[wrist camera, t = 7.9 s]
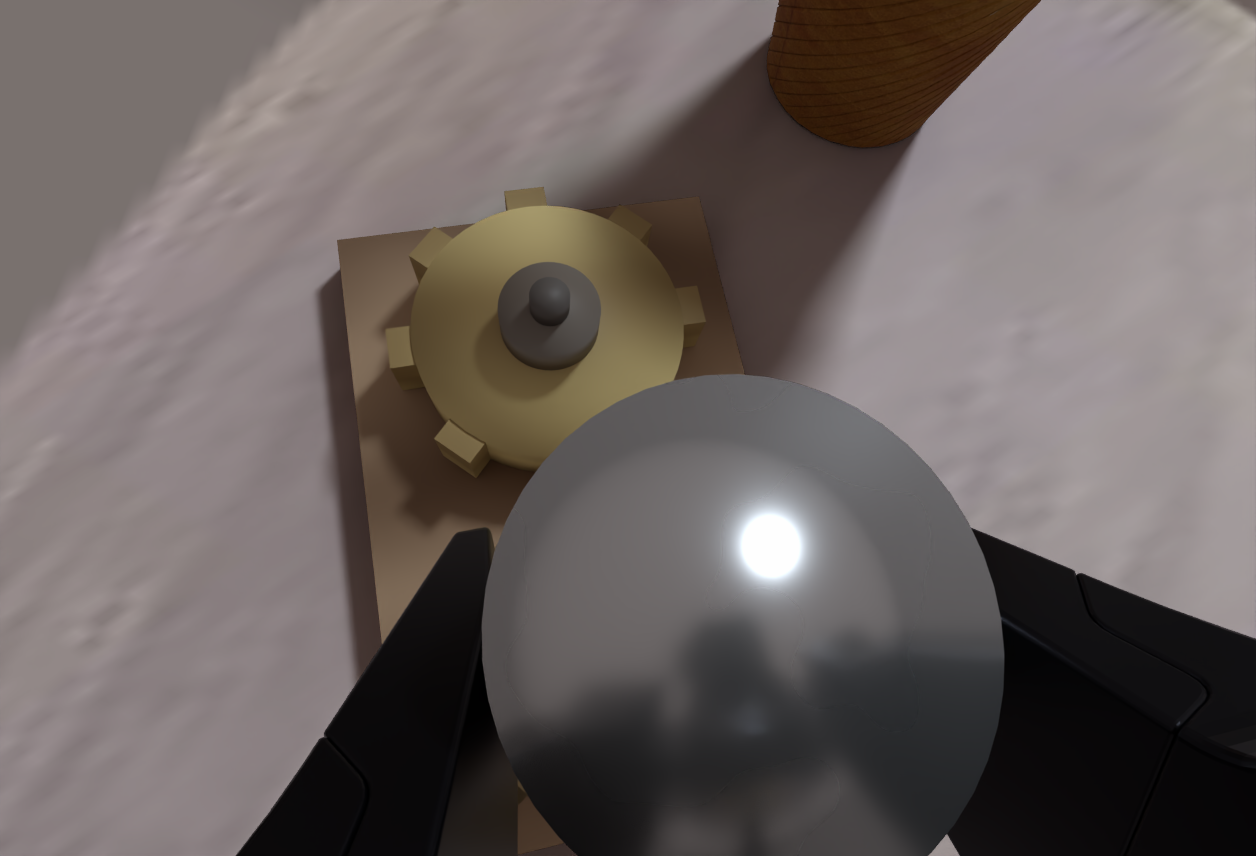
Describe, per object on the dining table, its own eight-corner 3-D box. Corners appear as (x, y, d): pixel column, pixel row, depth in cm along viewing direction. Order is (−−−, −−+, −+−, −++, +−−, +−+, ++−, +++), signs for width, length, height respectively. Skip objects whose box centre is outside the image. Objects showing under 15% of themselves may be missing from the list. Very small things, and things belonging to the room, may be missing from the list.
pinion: (613, 911, 14) (773, 1558, 4) (379, 654, 15) (28, 651, 5) (844, 634, 16) (1345, 597, 6) (625, 421, 17) (737, 74, 7)
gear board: (831, 765, 20) (911, 797, 16) (416, 868, 19) (374, 937, 14) (692, 217, 25) (724, 121, 20) (347, 260, 23) (299, 166, 19)
